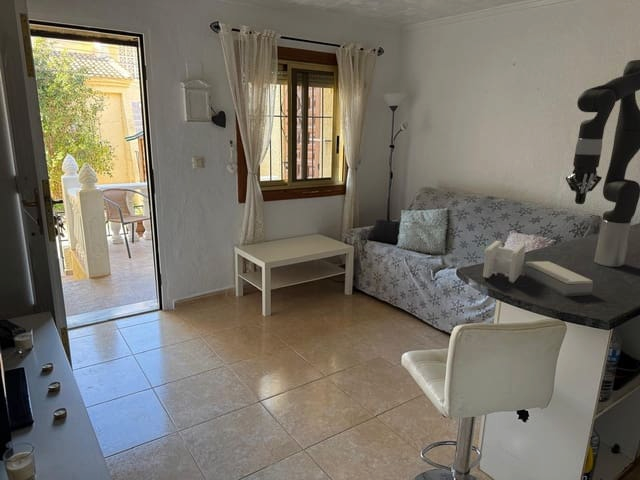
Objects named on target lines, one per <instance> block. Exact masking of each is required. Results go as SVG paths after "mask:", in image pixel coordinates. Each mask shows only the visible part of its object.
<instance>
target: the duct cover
mask: <svg viewBox="0 0 640 480" xmlns="http://www.w3.org/2000/svg"><path fill="white" fill-rule="evenodd" d="M525 265H529V266H531V267H533V268H535V269H537V270H539V271H541V272H543V273H545V274H547V275H550V276H552V277H554V278H556V279H558V280H560V281H562V282H564V283H566V284H581V283H594V282H593V280H592V279H590V278H587V277H586V276H585V277H584V276H583V275H581V274H579V273H576V272H574V271H572V270H569V269H568V268H565V267H563V266H560V265H559V264H556V263H553V262H551V261H548V260H547V261H525Z"/></svg>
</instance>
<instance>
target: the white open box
mask: <svg viewBox="0 0 640 480" xmlns="http://www.w3.org/2000/svg"><path fill="white" fill-rule="evenodd" d="M523 276H525V277H527V278H528V279H530V280H531V281H534V282H535V283H538V284H539V283H540V284H539V285H541V284H542V286H543V285H544V286H543V287H545V286H546V287H545V288H547V287H548V288H547V289H549V288H550V290H551V291H553V292H555V293H557V294H559V295H561V296H562V295H563V297H564V296H565V298H566V297H576V296H577V297H579V296H590V295H591V296H592V292H593V287H594V282H592V283H581V284H566V283H564V282H562V281H560V280H558V279H556V278H554V277H552V276H550V275H547V274H545V273H543V272H541V271H539V270H537V269H535V268H533V267H531V266H529V265H527V264H525V265H524V274H523Z"/></svg>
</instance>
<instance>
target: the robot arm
mask: <svg viewBox="0 0 640 480" xmlns="http://www.w3.org/2000/svg"><path fill="white" fill-rule="evenodd" d="M638 91H640V59H634V60H630V61H628V62H627V63H626V65H625V66H624V70H623V73H622V75H621V76H618V77H616V78H613V79H612V80H609V81H608V82H606V83H605V84H601V85H598V86H594V87H591V88H587V89H586V90H584V91H583V92H582V93H581V94H580V95H579V97H578V99H577V104H576V105H577V108H578V110H580V111H581V112H583V113H596V114H595V116H594V117H593V118H592V119H586V120H582V122H580V125H579V130H578V136H577V142H576V145H575V151H574V158H573V163H572V165H573V167H574V168H573V170H572V173H571V175H570V176H566V177H565V181H566V183H567V185H568V187H569V188H570V190H571V191H572V192H575V198H574V202H575V204H577V205H583V204H584V203H585V202H586V199H587V197H586V196H587V194H588V193H589V192H592V191H594V189H595V188H596V187H597V185H598V184H599V183H600V181H601V180H602V176H599V174H597V173H598V170H597V168H599V166H600V163H601V162H600V160H601V155H602V149H603V139H604V138H603V137H604V131H605V127H606V125H607V123H608V120H609V118H610V115H611V113H612V111H613V109H614V107H615V106H616V103H617V102H618V101H620V104H619V112H618V117H617V122H616V128H615V132H614V137H613V145H612V152H611V157H610V159H609V165H608V170H607V172H606V176H605V180H604V183H603V187H602V195H603V198H604V199H605V200H606V201H609V202H612V203H615V205H614V208H613V209H612V210H607V211H604V213H603V214H602V220H601V224H600V229H599V234H598V240H597V245H596V249H595V255H594V260H593V262H594V263H596V264H598V265H602V266H605V267H612V268H613V267H614V268H615V267H616V268H618V267H622V266H624V265H625V261H626V260H625V259H626V254H627V252H628V251H627V250H628V246H629V241H628V236H629V232H630V226H631V222H632V219H633V218H634V216H635V214H636V211H637V208H638V203H639V199H640V184H639V182H638V181H636V180H631V179H626V178H625V177H626V171H627V168H628V166H629V164H630V162H631V161H632V159H633V158H634V157H635V155H637V153H638V152H639V151H640V108H639V106H638V103H637V100H636V99H637V98H636V93H637V92H638Z"/></svg>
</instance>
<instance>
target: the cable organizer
mask: <svg viewBox="0 0 640 480" xmlns="http://www.w3.org/2000/svg"><path fill="white" fill-rule="evenodd" d="M502 246H503V243H502V241H501V240H495V241H493V243H491V244H490V245H488V246H487V247H486V248H485V250H484V255H485V257H484V263H483V265H484V266H483V272H482V276H483V277H484V278H486V279H489V278H490V277H491V276H493V274H494V275H495V276H497V274H502V275H504V277H508V281H509V282H510V283H511V284H514V283H515V282H516V281H517V279H518V278H519V277H520V276H521V274H522V272H523V266H524V261H525V254H526V253H525V252H526V244H523V243H521V244H519V245H517V247H516V248H509V247H508V248H507V247H502Z"/></svg>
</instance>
